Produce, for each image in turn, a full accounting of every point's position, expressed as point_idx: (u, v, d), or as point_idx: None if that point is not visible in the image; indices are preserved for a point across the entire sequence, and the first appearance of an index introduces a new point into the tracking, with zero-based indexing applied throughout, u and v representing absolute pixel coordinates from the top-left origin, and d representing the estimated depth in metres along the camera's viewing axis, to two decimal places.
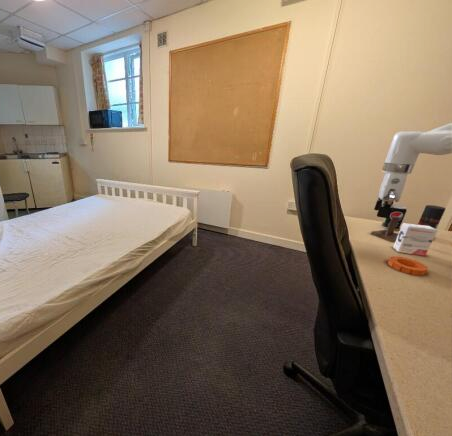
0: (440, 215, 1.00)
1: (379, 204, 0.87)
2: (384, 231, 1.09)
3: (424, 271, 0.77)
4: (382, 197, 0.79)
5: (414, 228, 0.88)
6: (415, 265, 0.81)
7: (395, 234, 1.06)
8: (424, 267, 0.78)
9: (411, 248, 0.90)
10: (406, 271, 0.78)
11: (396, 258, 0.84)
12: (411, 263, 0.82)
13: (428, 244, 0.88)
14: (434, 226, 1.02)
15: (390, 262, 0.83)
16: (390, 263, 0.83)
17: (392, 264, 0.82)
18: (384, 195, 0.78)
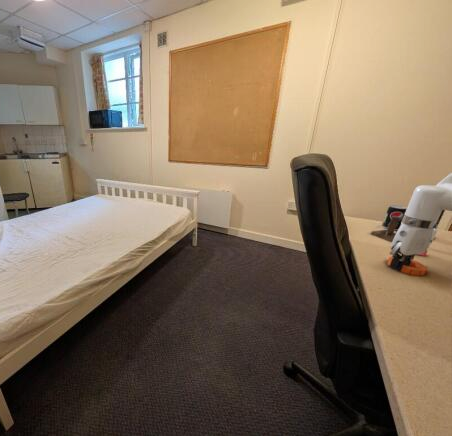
0: (440, 215, 1.00)
1: None
2: (384, 231, 1.09)
3: (424, 272, 0.77)
4: None
5: None
6: (415, 265, 0.81)
7: (395, 234, 1.06)
8: (424, 267, 0.78)
9: None
10: (406, 271, 0.78)
11: None
12: (411, 263, 0.82)
13: None
14: None
15: (390, 262, 0.83)
16: None
17: None
18: None
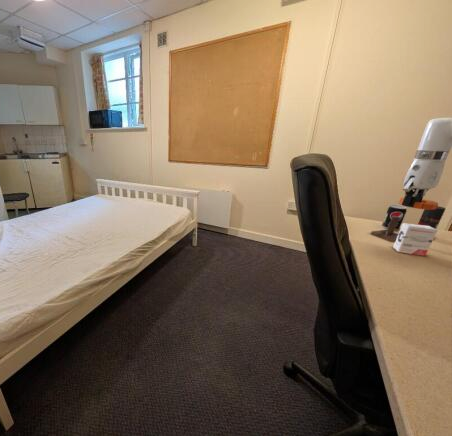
0: (440, 215, 1.00)
1: None
2: (384, 231, 1.09)
3: (435, 206, 0.80)
4: (403, 183, 0.81)
5: (414, 228, 0.88)
6: (426, 203, 0.84)
7: (395, 234, 1.06)
8: (435, 202, 0.81)
9: (411, 248, 0.90)
10: (418, 207, 0.81)
11: None
12: (421, 202, 0.85)
13: (428, 244, 0.88)
14: (434, 226, 1.02)
15: (401, 201, 0.86)
16: (401, 202, 0.85)
17: None
18: None
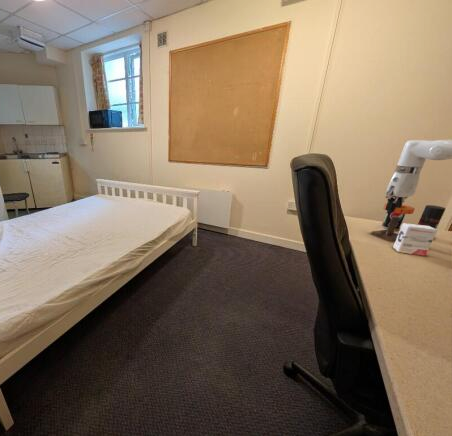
0: (440, 215, 1.00)
1: None
2: (384, 231, 1.09)
3: (412, 211, 0.97)
4: (386, 192, 0.99)
5: (414, 228, 0.88)
6: (405, 208, 1.01)
7: (395, 234, 1.06)
8: (412, 208, 0.98)
9: (411, 248, 0.90)
10: (397, 211, 0.98)
11: None
12: (402, 207, 1.02)
13: (428, 244, 0.88)
14: (434, 226, 1.02)
15: (385, 206, 1.03)
16: (385, 207, 1.03)
17: None
18: None
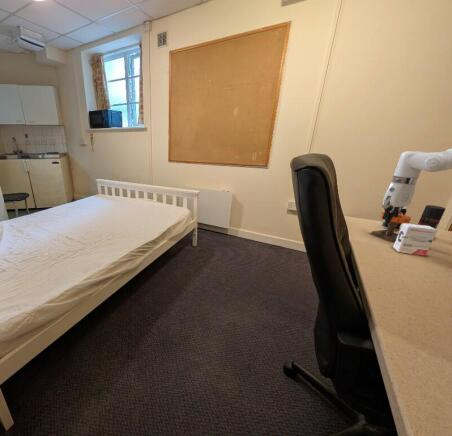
0: (440, 215, 1.00)
1: None
2: (384, 231, 1.09)
3: (408, 220, 0.98)
4: None
5: (414, 228, 0.88)
6: (402, 217, 1.02)
7: (395, 234, 1.06)
8: (408, 217, 1.00)
9: (411, 248, 0.90)
10: (394, 220, 1.00)
11: None
12: (399, 216, 1.04)
13: (428, 244, 0.88)
14: (434, 226, 1.02)
15: (382, 216, 1.04)
16: (382, 216, 1.04)
17: None
18: None
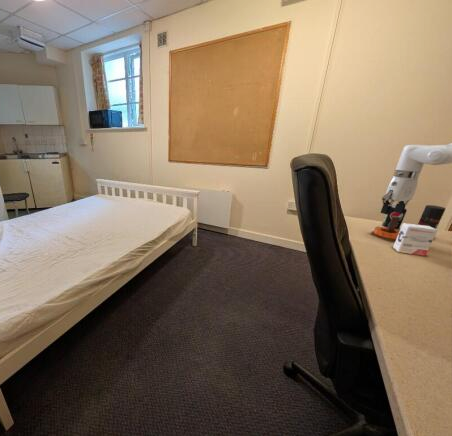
0: (440, 215, 1.00)
1: (397, 207, 1.02)
2: None
3: None
4: None
5: (414, 228, 0.88)
6: (394, 232, 1.05)
7: None
8: None
9: (411, 248, 0.90)
10: (387, 236, 1.02)
11: (380, 228, 1.08)
12: None
13: (428, 244, 0.88)
14: (434, 226, 1.02)
15: (375, 230, 1.07)
16: (375, 231, 1.07)
17: (377, 231, 1.05)
18: None
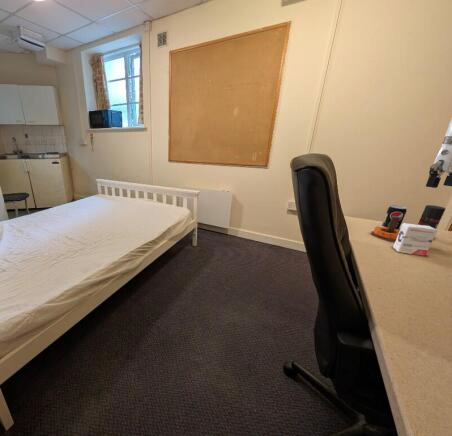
0: (440, 215, 1.00)
1: (448, 179, 0.89)
2: None
3: None
4: None
5: (414, 228, 0.88)
6: (394, 232, 1.05)
7: None
8: None
9: (411, 248, 0.90)
10: (387, 236, 1.02)
11: (380, 228, 1.08)
12: None
13: (428, 244, 0.88)
14: (434, 226, 1.02)
15: (375, 230, 1.07)
16: (375, 231, 1.07)
17: (377, 231, 1.05)
18: None
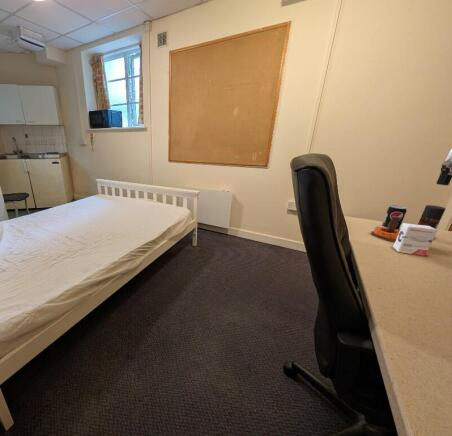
0: (440, 215, 1.00)
1: None
2: None
3: None
4: None
5: (414, 228, 0.88)
6: (394, 232, 1.05)
7: None
8: None
9: (411, 248, 0.90)
10: (387, 236, 1.02)
11: (380, 228, 1.08)
12: None
13: (428, 244, 0.88)
14: (434, 226, 1.02)
15: (375, 230, 1.07)
16: (375, 231, 1.07)
17: (377, 231, 1.05)
18: None
